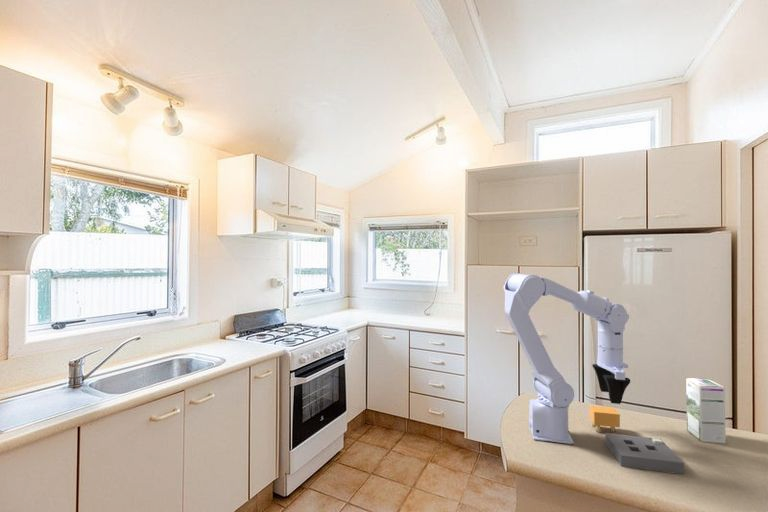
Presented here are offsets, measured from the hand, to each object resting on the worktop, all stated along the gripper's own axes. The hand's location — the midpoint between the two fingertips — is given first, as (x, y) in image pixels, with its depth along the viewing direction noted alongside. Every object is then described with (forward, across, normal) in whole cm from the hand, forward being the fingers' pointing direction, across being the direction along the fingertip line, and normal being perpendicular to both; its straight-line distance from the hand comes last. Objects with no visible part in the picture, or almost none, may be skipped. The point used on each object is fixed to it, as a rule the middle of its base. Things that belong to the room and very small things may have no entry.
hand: (610, 397), depth 94 cm
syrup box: (+10, +3, -23) cm, 25 cm away
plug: (+9, +1, +1) cm, 9 cm away
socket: (+9, -11, -3) cm, 15 cm away
